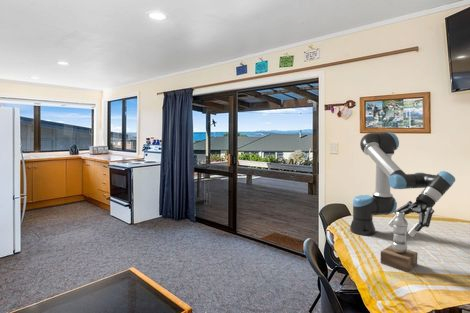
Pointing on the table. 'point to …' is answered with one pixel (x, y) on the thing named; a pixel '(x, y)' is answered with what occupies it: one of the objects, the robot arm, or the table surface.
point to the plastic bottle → (399, 233)
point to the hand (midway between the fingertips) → (399, 230)
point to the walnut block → (399, 259)
